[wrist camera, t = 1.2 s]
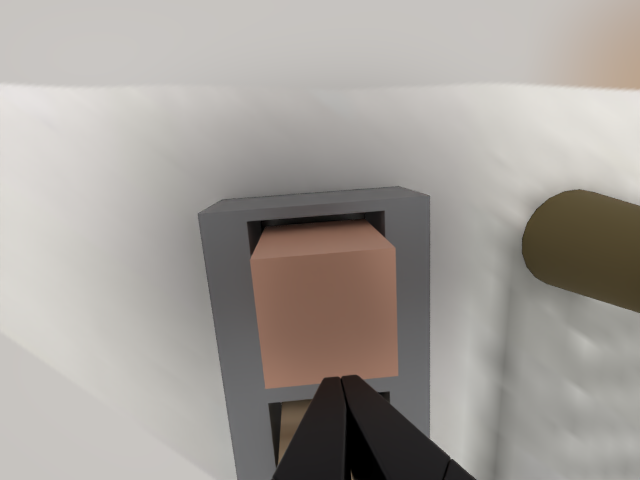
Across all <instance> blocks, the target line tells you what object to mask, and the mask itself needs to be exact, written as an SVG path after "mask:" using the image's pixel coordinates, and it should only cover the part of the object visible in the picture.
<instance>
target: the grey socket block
mask: <svg viewBox="0 0 640 480" xmlns="http://www.w3.org/2000/svg"><path fill="white" fill-rule="evenodd" d="M361 212H365V220H367V221H368V222H369V223H370V224H371V225H372V226H373V227H374V228H375V229H376V230H377V231H378V232H379V233H380V234H381V235H382V236H384V237H385V238H386V239H387V240H388V241H389V242H390V243H391V244H392V245H393V246H394V247H395V248H396V293H397V338H398V376H393V377H383V378H372V379H363V380H364V381H365V382H366V383H368V384H369V385H370V386H371V387H372V388H373V389H374V390H375V391H377V392H378V393H379V394H380V395H381V396H382V397H383V398H384V399H386V400H387V401H388V402H389V403H390V404H391V405H392V406H393V407H395V408H396V409H397V410H398V411H399V412H400V413H401V414H402V415H404V416H405V417H406V418H407V419H408V420H409V421H410V422H411V423H413V424H414V425H415V426H416V427H417V428H418V429H419V430H420V431H422V432H423V433H424V434H425V435H426V436H427V437H428V438H429V439H430V196H429V195H426V194H423V193H419V192H416V191H412V190H409V189H406V188H402V187H399V186H397V187H383V188H370V189H357V190H344V191H331V192H318V193H305V194H292V195H279V196H265V197H252V198H239V199H226V200H221V201H219V202H217V203H216V204H214V205H212V206H210V207H208V208H207V209H205V210H203V211H201V212H200V213H198V219H199V226H200V233H201V239H202V246H203V253H204V259H205V266H206V273H207V280H208V286H209V293H210V300H211V306H212V313H213V320H214V326H215V333H216V340H217V346H218V353H219V360H220V366H221V373H222V380H223V386H224V393H225V400H226V406H227V413H228V420H229V426H230V433H231V440H232V446H233V453H234V460H235V466H236V473H237V480H271V479H272V476H273V474H274V472H275V470H276V468H277V466H278V459H279V444H280V429H281V413H282V412H281V403H280V402H286V401H296V400H306V399H313V397H314V395H315V393H316V391H317V389H318V387H319V385H320V384H311V385H301V386H291V387H281V388H270V389H265V382H264V374H263V365H262V357H261V349H260V340H259V332H258V324H257V315H256V307H255V299H254V290H253V282H252V274H251V265H250V259H251V256H252V254H253V252H254V250H255V248H256V246H257V244H258V241H259V239H260V237H261V235H262V230H261V221H260V220H272V219H285V218H298V217H310V216H323V215H336V214H348V213H361Z"/></svg>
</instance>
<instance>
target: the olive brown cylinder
mask: <svg viewBox="0 0 640 480" xmlns="http://www.w3.org/2000/svg"><path fill="white" fill-rule="evenodd" d="M522 254H523V257H524V260H525V263H526V266H527V268H528V269H529V270H530V271H531V273H532V274H533V275H534V276H535V277H536V278H538V279H539V280H541V281H543V282H545V283H546V284H549V285H552V286H555V287H558V288H562V289H565V290H568V291H571V292H574V293H578V294H581V295H584V296H587V297H590V298H594V299H597V300H600V301H603V302H606V303H610V304H613V305H616V306H619V307H622V308H625V309H629V310H632V311H635V312H638V313H640V206H638V205H635V204H632V203H628V202H625V201H621V200H618V199H615V198H611V197H608V196H605V195H601V194H598V193H595V192H590V191H585V190H580V189H579V190H572V191H565V192H562V193H560V194H558V195H556V196H554V197H551V198H549V199H548V200H547V201H546V202H545V203H543V204H542V205H541V206H540V207H539V208H538V209H536V211H535V212H534V214H533V215H532V217H531V218H530V220H529V221H528V223H527V226H526V229H525V232H524V235H523V238H522Z"/></svg>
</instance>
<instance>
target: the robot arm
mask: <svg viewBox="0 0 640 480" xmlns="http://www.w3.org/2000/svg"><path fill="white" fill-rule="evenodd" d="M351 473H352V477H351ZM352 479H353V480H476V479H475V478H474V477H473V476H471V475H470V474H469V473H468V472H467V471H466V470H464V469H463V468H462V467H461V466H460V465H459V464H458V463H457V462H455V461H454V460H453V459H451V458H450V456H448V455H447V454H446V453H445V452H444V451H443V450H442V449H441V448H440V447H438V446H437V445H436V444H435V443H434V442H433V441H432V440H431V439H429V438H428V437H427V436H426V435H425V434H424V433H423V432H422V431H420V430H419V429H418V428H417V427H416V426H415V425H414V424H413V423H411V422H410V421H409V420H408V419H407V418H406V417H405V416H404V415H402V414H401V413H400V412H399V411H398V410H397V409H396V408H395V407H393V406H392V405H391V404H390V403H389V402H388V401H387V400H386V399H384V398H383V397H382V396H381V395H380V394H379V393H378V392H377V391H375V390H374V389H373V388H372V387H371V386H370V385H369V384H368V383H366V382H365V381H364V380H363V379H362V378H361V377H360V376H358V375H346V376H342V377H341V379H340V377H338V376H336V377H325V378H323V380H322V381H321V383H320V385H319V387H318V389H317V391H316V393H315V395H314V397H313V399H312V401H311V403H310V404H309V406H308V408H307V410H306V412H305V414H304V416H303V418H302V420H301V422H300V424H299V426H298V428H297V430H296V431H295V433H294V435H293V437H292V439H291V441H290V443H289V445H288V447H287V449H286V451H285V453H284V455H283V457H282V458H281V460H280V462H279V464H278V466H277V468H276V470H275V472H274V474H273V476H272V479H271V480H352Z"/></svg>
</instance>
